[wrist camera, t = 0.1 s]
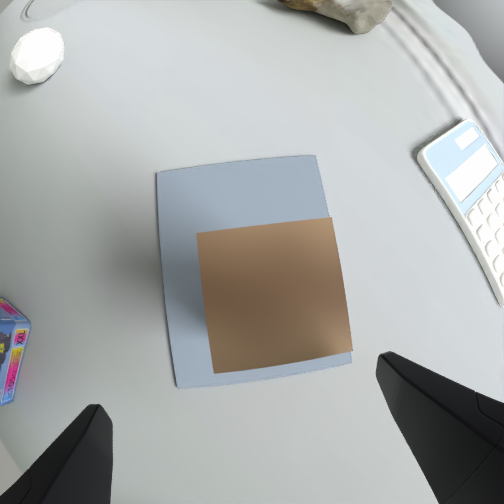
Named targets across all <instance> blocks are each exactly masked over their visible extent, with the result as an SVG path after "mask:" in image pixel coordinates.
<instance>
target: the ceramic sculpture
mask: <svg viewBox="0 0 504 504" xmlns="http://www.w3.org/2000/svg"><path fill="white" fill-rule="evenodd" d="M278 1H279V2H281V3H283V4H284V5H287V6H288V7H290V8H292V9H296V10H304V11H314V12H316V13H319V14H321V15H324V16H327V17H330V18H334V19H337V20H339V21H342V22H344V23H346V24H347V25H348V26H349V27H350V29H351V30H352V32H353V33H355V34H361V33H367V32H369V31H371V30H372V29H373V28H374V27H375V26H376V25H377V24H379V23H381V22H382V21H384V20H385V18H386V16H387V14H388V13H389V12H390V10H391V8H392V7H393V4H394V3H393V2H392V1H390V0H278Z"/></svg>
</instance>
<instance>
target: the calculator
mask: <svg viewBox="0 0 504 504" xmlns="http://www.w3.org/2000/svg"><path fill="white" fill-rule="evenodd" d="M417 161H418V163H419V164H420V166H421V168H422V169H423V171H424V172H425V174H426V175H427V176H428V178H429V179H430V181H431V182H432V184H433V185H434V186H435V188H436V189H437V191H438V192H439V194H440V195H441V197H442V198H443V200H444V202H445V203H446V205H447V206H448V208H449V209H450V211H451V213H452V214H453V216H454V217H455V219H456V221H457V222H458V224H459V226H460V228H461V229H462V231H463V233H464V234H465V236H466V238H467V240H468V242H469V243H470V245H471V247H472V249H473V251H474V253H475V254H476V256H477V258H478V260H479V262H480V264H481V266H482V268H483V270H484V272H485V274H486V276H487V278H488V281H489V283H490V285H491V287H492V289H493V291H494V294H495V296H496V298H497V300H498V302H499V304H500V306H501V307H503V308H504V163H503V162H502V160H501V158H500V157H499V155H498V154H497V152H496V151H495V149H494V148H493V146H492V145H491V143H490V142H489V140H488V139H487V138H486V136H485V135H484V133H483V132H482V131H481V129H480V128H479V127H478V125H477V124H476V123H475V122H474V121H473V120H471V119H465V120H463V121H462V122H460V123H459V124H457V125H456V126H454V127H453V128H451V129H450V130H448V131H447V132H445V133H444V134H443V135H441V136H440V137H438V138H437V139H435V140H434V141H432V142H431V143H429V144H428V145H426V146H425V147H423V148H422V149H421V150H420V151H419V153H418V154H417Z"/></svg>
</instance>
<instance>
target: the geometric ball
mask: <svg viewBox="0 0 504 504" xmlns="http://www.w3.org/2000/svg"><path fill="white" fill-rule="evenodd" d="M64 48H65V44H64V42H63V39H62V37H61V34H60V33H58V32H56V31H55V30H53V29H51V28H49V27H46V28H39V29H34V30H31V31H30V32H28V33H27V34H25V35H24V36H22V37H21V38H19V40H18V42H17V44H16V45H15V47H14V49H13V51H12V53H11V59H10V67H9V68H10V70H11V72H12V73H13V75H14V77H15V78H16V79H17V80H19V81H21V82H23V83H25V84H27V85H29V84H35V83H41V82H44V81H45V80H46V79H47V78H49V77H50V76H51V75H52V74H54V73H55V71H56V70H57V68H58V67H59V65H60V64H61V63H62V61H63V60H64Z"/></svg>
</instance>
